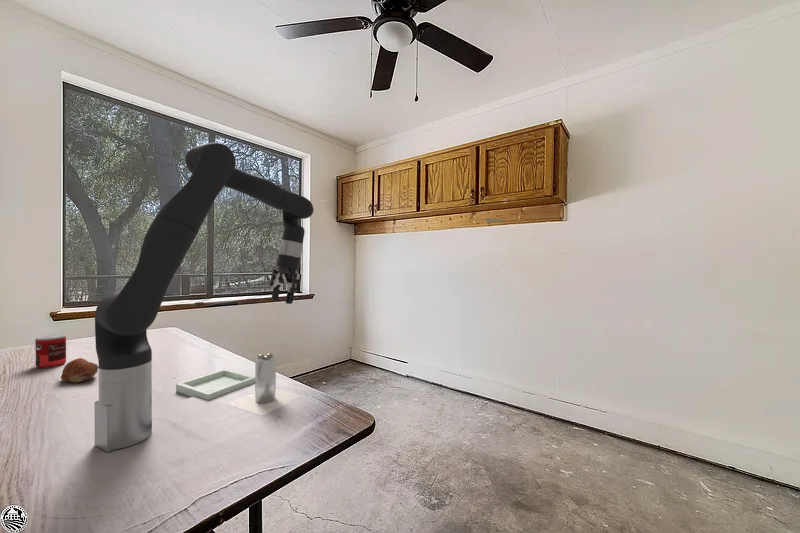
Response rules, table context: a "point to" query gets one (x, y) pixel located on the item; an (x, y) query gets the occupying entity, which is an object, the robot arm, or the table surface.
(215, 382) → the tray
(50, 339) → the canned food
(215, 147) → the robot arm
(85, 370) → the bread roll
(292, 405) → the table surface
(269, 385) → the cup
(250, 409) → the board
